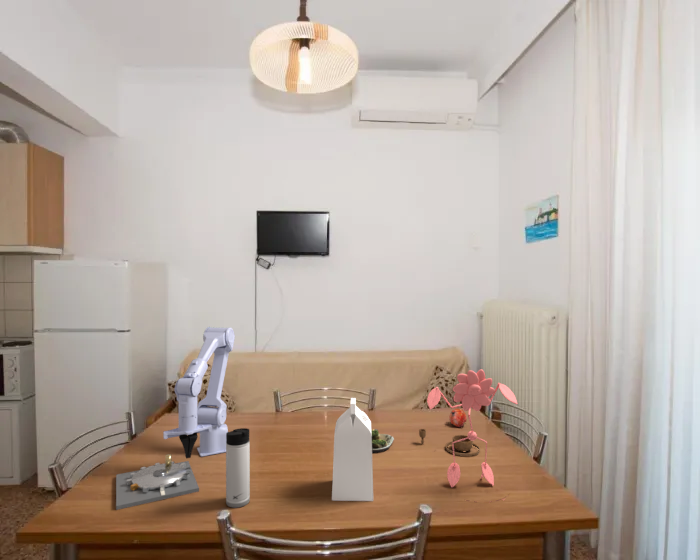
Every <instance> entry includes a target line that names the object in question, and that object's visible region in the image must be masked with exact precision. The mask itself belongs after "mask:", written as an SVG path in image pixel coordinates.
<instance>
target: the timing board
mask: <svg viewBox="0 0 700 560" xmlns="http://www.w3.org/2000/svg"><path fill="white" fill-rule="evenodd" d="M182 463H185V464H186V468H188V467H190V468H191V473H189V478H188V479H183V480H182V481H180V485H178V486H175V485H172V486H170V487H166V488H165V490H163V491H160V489H156V490H149V491H148V492H143V490H141V489H136V490H131V485H132V484H131V485H127V479H130V474H131V473H137V472H138V471H140V469H139V470H133V471H129V472H123V473H118V474H115V476H116V477H115V481H116V482H115V485H116V486H115V487H116V488H115V491H116V492H115V494H116V497H115V498H116V499H115V501H116V502H115V510H116V511H118V510H122V509H126V508H131V507H135V506H140V505H144V504H150V503H153V502H158V501H162V500H166V499H171V498H176V497H180V496H184V495H189V494H192V493H198V492H200V487H199V485H198V482H197V480H196V477H195V474H194V472H193V470H192V466H191V464H190V461H189V460H187V461H181V462H177V463H176V462H174V464H182Z"/></svg>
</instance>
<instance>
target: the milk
mask: <svg viewBox="0 0 700 560" xmlns="http://www.w3.org/2000/svg"><path fill="white" fill-rule="evenodd" d="M349 404H350V407H349V408H347V409H346V411H344V412H343V413H342V414H341V415H340V416H339V417H338V418H337V420H336V423H335V428H334V434H333V435H334V437H333V438H334V439H333V460H332V461H333V464H332V466H333V467H332V468H333V469H332V487H331V488H332V489H331V490H332V491H331V501H340V502H341V501H342V502H344V501H345V502H348V501H349V502H350V501H351V502H352V501H353V502H374V478H373V477H374V476H373V474H374V473H373V453H372V434H371V430H372V421H371V420H370V418H369V416H368V414H366V412H364V411H363V410H361V409H360V408H359V407H358V406H357V399H356V397H351V398H350V403H349Z"/></svg>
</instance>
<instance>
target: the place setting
mask: <svg viewBox="0 0 700 560" xmlns="http://www.w3.org/2000/svg"><path fill="white" fill-rule="evenodd" d="M418 431H419V433H418V434H419V437H420V438H421V440H420V442H421V443H420V444H421V446H423V445H425V444H424V442H425V440H424V438H426V436H427V430H426V429H425V428H420V429H419V430H418ZM467 437H468V435H465V434H456V435H453V436H452V441H448V442H447V443H446V444H445V450H446V451H447V452H448V453H449V452H450V453H449V454H451V453H452V454H451V455H453V450H451V449H449V447H448V446H449V445H452V443H453V442H455V441H458V440H461V439H464V438H467ZM453 444H454V450H455V449H456V451H454V454H455V455H454V456H457V455H460V456H459V457H462V456H471V457H473V456H472V455H475V456H477V455H479V453H480V451H481V447H479V446H480V445H478V446H477V444H476V443H474V442H473V441H471V440H469V438H468V439H465V440H462V441H459V442H456V443H453ZM472 445H473V446H475V447H477V448H478V449H479V450H478V451H477V450H476V451H475V452H472V453H471V452H469V451H470V450H472V448H473V447H472ZM447 447H448V448H447ZM457 450H458V451H457ZM459 451H462V452H459ZM463 451H468V452H469V453H466V452H463ZM476 454H477V455H476Z"/></svg>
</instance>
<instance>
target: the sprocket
mask: <svg viewBox="0 0 700 560" xmlns="http://www.w3.org/2000/svg"><path fill="white" fill-rule="evenodd" d="M164 457H165V462H164V463H160V462H156V463H154V464H153V465H150V466H147V467H146V466H142V467H140V469H139V470H140V471H138V470H137V471H138V472H137V473H131V474H130V479H127V485H131V484H132V485H131V490H136V489H141V490H143V492H148V491H149V490H156V489H160V491H163V490H165V488H166V487H170V486H172V485H175V486H178V485H180V481H182V480H183V479H188V478H189V473H191V469H192V467H191V468H190V467H188V468H186V464H185V463H182V464H175V461H173V459H172V454H171V453H168V454H165V455H164Z"/></svg>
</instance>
